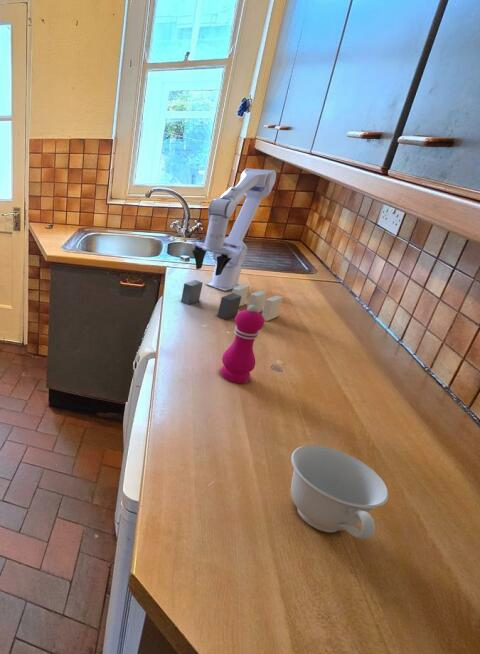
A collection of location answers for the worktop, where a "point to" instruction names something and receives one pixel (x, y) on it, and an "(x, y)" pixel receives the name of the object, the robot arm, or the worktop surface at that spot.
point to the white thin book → (241, 293)
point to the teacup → (335, 490)
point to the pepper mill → (242, 346)
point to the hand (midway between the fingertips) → (208, 271)
